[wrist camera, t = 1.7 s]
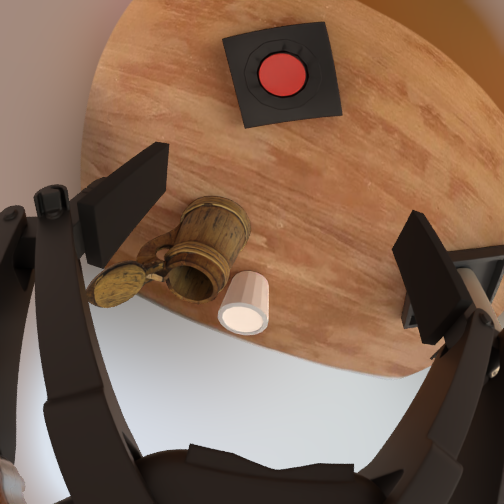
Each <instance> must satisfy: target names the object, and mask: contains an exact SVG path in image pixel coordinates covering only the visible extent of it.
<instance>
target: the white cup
mask: <svg viewBox="0 0 504 504" xmlns="http://www.w3.org/2000/svg"><path fill="white" fill-rule="evenodd" d="M268 311H269V285H268V281H267V280H266V279H265V277H264V276H262V275H261V274H259V273H257V272H253V271H242V272H240V273H237V274H236V275H235V276H234V277H233V279H232V281H231V283H230V286H229V288H228V290H227V293H226V295H225V297H224V299H223V302H222V304H221V306H220V309H219V311H218V319H219V321H220V323H221V324H222V325H223V326H224V327H225V328H226V329H228V330H230V331H232V332H234V333H237V334H242V335H254V334H257V333H260V332H262V331H263V330H264V329H266V328H267V324H268Z"/></svg>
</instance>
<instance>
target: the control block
mask: <svg viewBox="0 0 504 504" xmlns="http://www.w3.org/2000/svg"><path fill="white" fill-rule="evenodd" d="M222 41H223V45H224V49H225V53H226V56H227V60H228V64H229V68H230V72H231V76H232V80H233V83H234V87H235V91H236V95H237V99H238V103H239V107H240V111H241V115H242V119H243V123H244V127H245V129H246V128H251V127H257V126H263V125H269V124H275V123H281V122H288V121H296V120H303V119H312V118H321V117H331V116H342V108H341V101H340V95H339V89H338V83H337V77H336V72H335V66H334V61H333V56H332V51H331V46H330V42H329V37H328V33H327V29H326V25H325V22H314V23H304V24H296V25H288V26H281V27H275V28H269V29H264V30H259V31H254V32H249V33H244V34H240V35H236V36H231V37H227V38H223V39H222ZM274 54H289V55H291V56H293V57H295V58H297V59H298V60H299V61H300V62H301V63H302V65H303V67H304V69H305V74H306V78H305V82H304V84H303V86H302V87H301V89H300V90H299V91H297V92H296V93H294V94H292V95H288V96H278V95H274V94H272V93H270V92H269V91H267V90H266V89H265V88H264V87H263V85H262V84H261V82H260V79H259V70H260V67H261V65H262V63H263V62H264V60H266V59H267V58H268V57H270V56H272V55H274Z"/></svg>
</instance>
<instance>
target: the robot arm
mask: <svg viewBox="0 0 504 504" xmlns="http://www.w3.org/2000/svg"><path fill="white" fill-rule="evenodd" d="M168 154H169V144H168V143H161V142H155V143H153V144H152V145H150V146H149V147H147V148H146V149H144V150H143V151H142V152H140V153H139V154H137V155H136V156H135V157H133V158H132V159H130V160H129V161H128V162H126V163H125V164H124V165H122V166H121V167H120V168H118V169H117V170H116V171H114V172H113V173H112V174H110V175H109V176H108V177H102V178H100V179H98V180H95V181H93V182H92V183H91V184H90V185H88V186H87V188H85V189H83V190H82V191H81V192H80V193H79V194H77V195H76V196H75V197H74V198H73V199H71V200H70V201H69V198H68V190H67V188H66V187H65V186H63V185H58V184H57V185H50V186H47V187H44V188H42V189H40V190H39V191H38V192H37V193H35V195H34V202H35V206H36V211H37V216H38V217H26V213H25V209H24V207H22V206H19V205H18V206H17V205H15V206H10V207H8V208H6V209H4V210H3V211H2V212H1V213H0V504H26V502H25V499H24V497H23V493H22V492H23V491H24V490H25V482H24V480H23V478H22V477H21V476H20V475H19V473H18V471H17V469H16V467H15V466H14V461H15V450H16V401H17V384H18V372H19V362H20V354H21V347H22V340H23V334H24V328H25V323H26V318H27V313H28V308H29V303H30V299H31V295H32V291H33V287H34V283H35V304H36V319H37V331H38V341H39V349H40V357H41V363H42V369H43V375H44V381H45V386H46V391H47V401H46V402H45V403H44V406H43V412H44V418H45V423H46V426H47V430H48V434H49V437H50V440H51V444H52V447H53V450H54V453H55V456H56V459H57V462H58V465H59V468H60V471H61V473H62V476H63V478H64V481H65V484H66V486H67V488H68V491H69V493H70V495H71V496H70V497H67V498H65V499H63V500H61V501H59V502H57V503H54V504H504V328H503V329H502V330H501V332H499V331H498V330H496V329H495V325H494V322H493V320H492V318H491V317H490V315H489V314H488V313H487V312H486V311H484V310H483V309H481V308H476V306H475V303H474V301H473V299H472V297H471V295H470V293H469V291H468V290H467V287H466V285H465V284H464V281H463V279H462V277H461V275H460V274H459V272H458V271H457V269H456V267H455V265H454V263H453V261H452V260H451V258H450V256H449V254H448V253H447V251H446V249H445V247H444V246H443V244H442V242H441V241H440V239H439V237H438V236H437V234H436V232H435V231H434V229H433V228H432V226H431V225H430V223H429V221H428V220H427V218H426V217H425V215H424V214H423V213H420V212H418V211H415V210H412V212H411V214H410V216H409V218H408V220H407V222H406V224H405V226H404V228H403V230H402V231H401V233H400V235H399V237H398V239H397V241H396V242H395V244H394V246H393V248H392V251H393V254H394V257H395V259H396V262H397V265H398V267H399V270H400V273H401V276H402V279H403V281H404V284H405V287H406V290H407V293H408V296H409V299H410V303H411V306H412V309H413V312H414V315H415V319H416V322H417V326H418V329H419V333H420V337H421V340H422V343H423V344H430V345H435V344H436V343H437V342H438V341H439V340H440V339H441V338H442V337H443V336H444V339H445V344H444V345H443V346H442V347H441V348H440V349H439V350H438V351H437V352H436V353H435V354H434V355H433V356H432V357H431V358H430V359H431V360H432V359H433V358H435V360H434V362H433V364H432V366H431V368H430V370H429V372H428V374H427V376H426V378H425V380H424V382H423V384H422V385H421V387H420V389H419V391H418V393H417V394H416V396H415V398H414V399H413V401H412V403H411V405H410V406H409V408H408V410H407V411H406V413H405V415H404V416H403V418H402V419H401V421H400V422H399V424H398V426H397V427H396V428H395V430H394V431H393V433H392V434H391V436H390V437H389V439H388V440H387V441H386V443H385V444H384V446H383V447H382V449H381V450H380V451H379V452H378V454H377V455H376V457H375V458H374V459H373V460H372V462H370V463H369V464H368V465H367V466H366V467H365V468H363V469H362V470H360V471H359V472H358V473H355V472H354V464H325V463H317V464H312V465H306V466H301V467H294V468H288V469H281V470H275V469H271V468H268V467H266V466H263V465H260V464H258V463H255V462H252V461H250V460H247V459H245V458H243V457H241V456H238V455H236V454H234V453H230V452H225V451H220V450H215V449H211V448H206V447H202V446H198V445H194V444H190V445H189V449H188V450H187V449H176V450H166V451H160V452H156V453H153V454H150V455H147V456H145V457H143V456H142V454H141V452H140V450H139V448H138V446H137V444H136V442H135V439H134V438H133V435H132V433H131V432H130V429H129V428H128V426H127V423H126V421H125V419H124V416H123V414H122V412H121V409H120V406H119V404H118V401H117V399H116V396H115V393H114V391H113V388H112V385H111V382H110V379H109V376H108V373H107V370H106V367H105V364H104V361H103V357H102V354H101V351H100V347H99V344H98V340H97V337H96V333H95V329H94V325H93V321H92V317H91V312H90V308H89V303H88V299H87V294H86V289H85V284H84V279H83V273H82V267H81V262H80V258H81V256H82V255H83V254H84V253H85V254H86V258H87V263H88V264H90V265H93V266H96V267H99V268H102V269H104V267H105V266H106V264H107V263H108V262H109V260H110V259H111V258H112V256H113V255H114V254H115V252H116V251H117V250H118V248H119V247H120V246H121V245H122V243H123V242H124V241H125V239H126V238H127V237H128V236H129V234H130V233H131V232H132V231H133V229H134V228H135V227H136V226H137V224H138V223H139V222H140V221H141V220H142V218H143V217H144V216H145V215H146V214H147V212H148V211H149V210H150V209H151V208H152V206H153V205H154V204H155V203H156V202H157V201H158V199H159V198H160V197H161V196H162V195H163V194H164V192H165V191H166V180H167V166H168ZM499 366H500V368H499V371H498V373H497V374H496V375H495V376H494V377H492V373H493V372H494V371H495V370H496V369H497V368H498V367H499Z"/></svg>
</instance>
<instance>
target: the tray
mask: <svg viewBox="0 0 504 504" xmlns="http://www.w3.org/2000/svg"><path fill="white" fill-rule="evenodd" d="M447 253H448V254H449V256H450V258H451V260H452V261H453V263H454V265H455V267H456V269H459V268H469V269H471V270H472V271H473V272H474V273H475V275H476V277H477V279H478V281H479V283H480V284H481V286H482V288H483V290H484V292H485V294H486V296H487V298H488V300H489V302H490V304H492V302H493V299H494V297H495V295H496V292H497V290H498V287H499V285H500V282H501V280H502V277H503V274H504V245H500V246H492V247H484V248H476V249H467V250H459V251H450V252H447ZM401 319H402V323H403V327H404V329H407V328H414V327H418V326H417V322H416V319H415V315H414V312H413V309H412V306H411V303H410V299H409V296H408V293H406V298H405V303H404V308H403V313H402V317H401Z"/></svg>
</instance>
